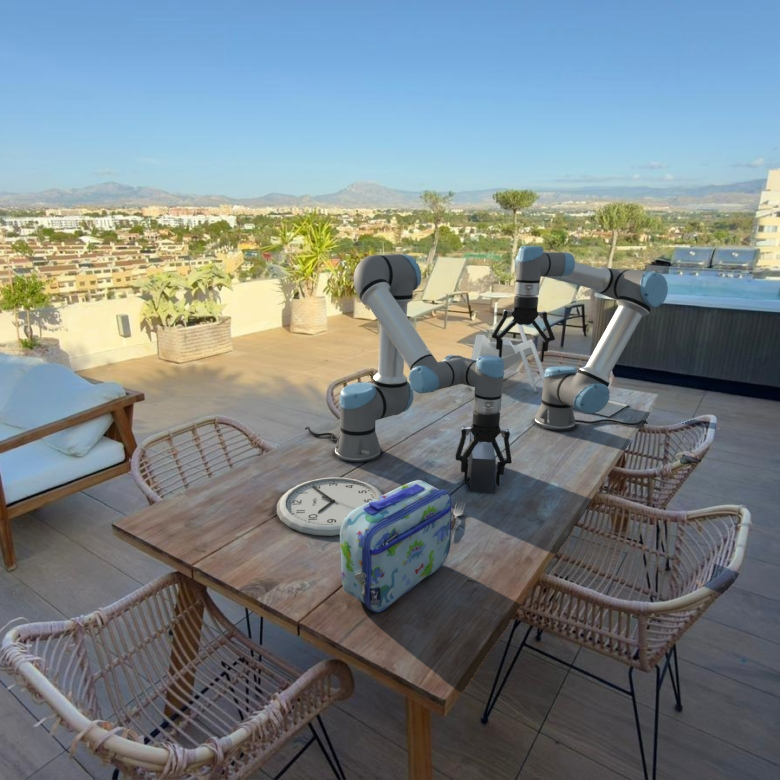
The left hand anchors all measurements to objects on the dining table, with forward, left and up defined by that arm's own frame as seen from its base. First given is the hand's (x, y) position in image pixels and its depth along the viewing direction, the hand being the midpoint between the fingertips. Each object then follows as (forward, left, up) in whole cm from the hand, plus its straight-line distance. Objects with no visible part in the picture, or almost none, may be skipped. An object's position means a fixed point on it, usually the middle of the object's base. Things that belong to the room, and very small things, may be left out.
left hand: (481, 482), depth 154 cm
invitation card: (+17, +97, -1) cm, 99 cm away
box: (-3, +7, -1) cm, 8 cm away
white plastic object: (-31, +103, -1) cm, 108 cm away
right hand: (-2, +34, +30) cm, 45 cm away
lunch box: (+1, -51, -1) cm, 51 cm away
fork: (+1, -22, -1) cm, 23 cm away
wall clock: (-31, -32, -1) cm, 44 cm away
